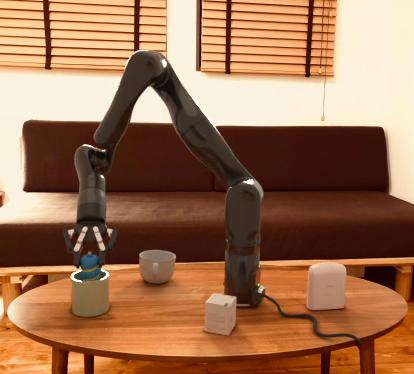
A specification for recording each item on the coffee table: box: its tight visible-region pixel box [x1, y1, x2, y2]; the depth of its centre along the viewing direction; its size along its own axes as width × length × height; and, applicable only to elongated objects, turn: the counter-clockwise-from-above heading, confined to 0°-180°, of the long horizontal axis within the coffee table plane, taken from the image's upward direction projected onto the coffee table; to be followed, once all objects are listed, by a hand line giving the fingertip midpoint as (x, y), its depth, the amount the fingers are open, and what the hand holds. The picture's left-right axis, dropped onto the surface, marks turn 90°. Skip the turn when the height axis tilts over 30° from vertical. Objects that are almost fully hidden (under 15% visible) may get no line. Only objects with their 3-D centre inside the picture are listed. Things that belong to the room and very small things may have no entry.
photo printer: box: [306, 261, 347, 311], centre depth 123 cm, size 10×4×12 cm, turn 100°
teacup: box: [138, 249, 177, 284], centre depth 137 cm, size 14×11×8 cm
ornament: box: [80, 251, 102, 281], centre depth 117 cm, size 5×5×15 cm
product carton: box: [203, 292, 237, 336], centre depth 110 cm, size 6×6×7 cm
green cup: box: [70, 269, 110, 318], centre depth 118 cm, size 9×9×9 cm
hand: (89, 266), depth 115 cm, fingers closed on ornament, 4 cm apart
